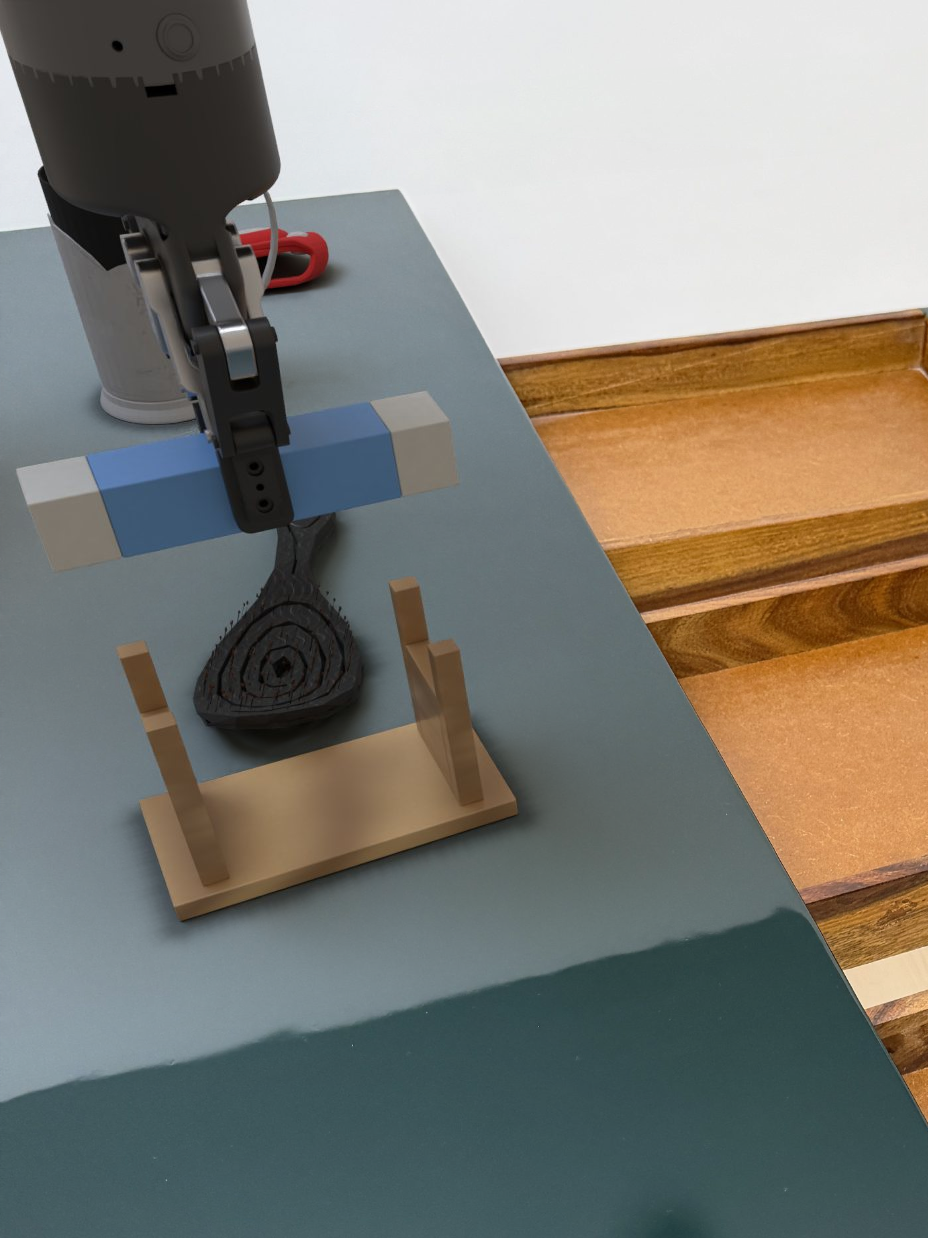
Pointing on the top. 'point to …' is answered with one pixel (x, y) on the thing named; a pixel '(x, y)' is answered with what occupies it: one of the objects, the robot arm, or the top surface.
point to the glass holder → (121, 313)
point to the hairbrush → (283, 647)
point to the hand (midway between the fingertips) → (255, 503)
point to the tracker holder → (289, 243)
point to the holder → (320, 786)
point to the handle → (194, 488)
